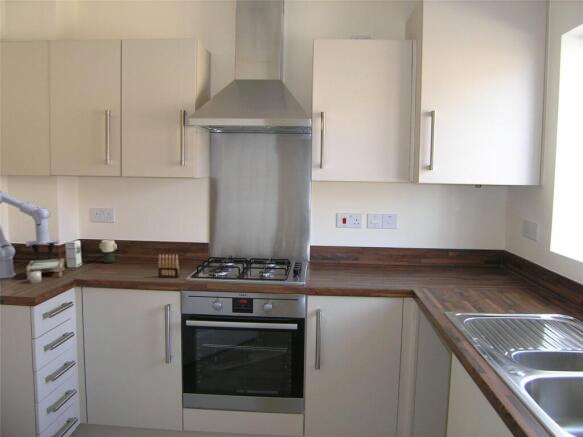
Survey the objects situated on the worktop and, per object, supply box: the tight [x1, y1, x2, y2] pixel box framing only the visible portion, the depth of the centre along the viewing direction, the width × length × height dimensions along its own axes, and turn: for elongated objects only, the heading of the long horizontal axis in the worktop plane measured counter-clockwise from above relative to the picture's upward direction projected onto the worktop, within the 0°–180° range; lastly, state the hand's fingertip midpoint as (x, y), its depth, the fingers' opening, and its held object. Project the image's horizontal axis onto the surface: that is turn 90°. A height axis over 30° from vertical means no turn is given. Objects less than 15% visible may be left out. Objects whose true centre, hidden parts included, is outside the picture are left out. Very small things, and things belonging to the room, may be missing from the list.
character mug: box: [99, 239, 118, 264], centre depth 253 cm, size 11×7×13 cm, turn 79°
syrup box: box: [64, 239, 83, 268], centre depth 243 cm, size 6×6×14 cm
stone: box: [29, 271, 42, 284], centre depth 211 cm, size 5×5×5 cm
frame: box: [25, 257, 65, 281], centre depth 224 cm, size 15×16×7 cm
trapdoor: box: [30, 258, 60, 270], centre depth 224 cm, size 13×12×2 cm
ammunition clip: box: [158, 253, 181, 279], centre depth 219 cm, size 11×2×12 cm, turn 84°
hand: (44, 258), depth 220 cm, fingers open, 4 cm apart
